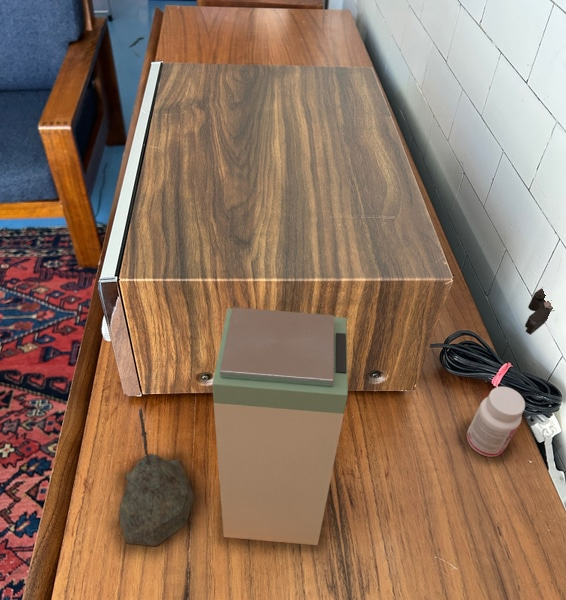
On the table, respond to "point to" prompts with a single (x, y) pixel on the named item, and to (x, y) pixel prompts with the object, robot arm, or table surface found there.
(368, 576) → the table surface
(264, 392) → the scale
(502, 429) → the pill bottle
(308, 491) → the pedestal
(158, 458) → the grey rough stone lump
